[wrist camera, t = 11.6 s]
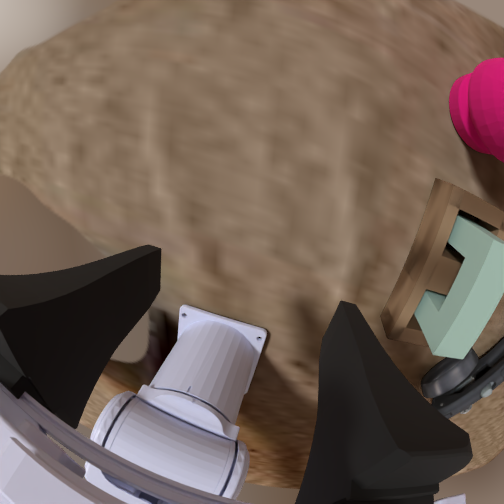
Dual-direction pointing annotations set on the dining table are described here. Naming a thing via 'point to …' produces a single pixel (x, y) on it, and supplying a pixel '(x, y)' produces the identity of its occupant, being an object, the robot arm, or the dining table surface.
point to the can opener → (463, 380)
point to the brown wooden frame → (434, 258)
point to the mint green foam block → (464, 292)
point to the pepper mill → (480, 107)
